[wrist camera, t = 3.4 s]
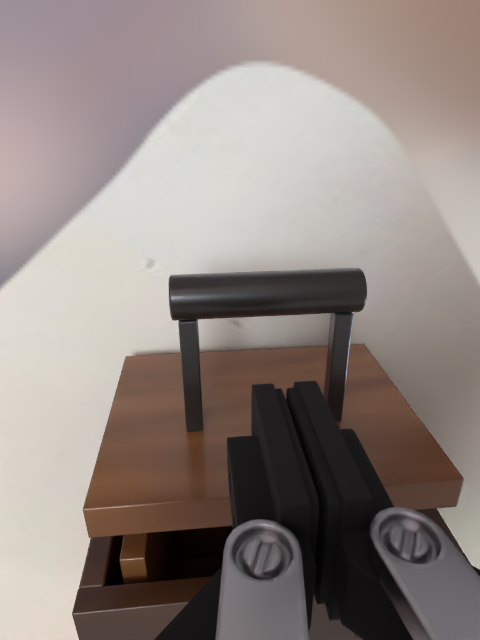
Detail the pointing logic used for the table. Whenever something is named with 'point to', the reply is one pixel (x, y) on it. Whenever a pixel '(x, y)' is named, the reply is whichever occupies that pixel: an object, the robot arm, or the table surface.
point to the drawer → (242, 420)
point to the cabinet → (161, 598)
